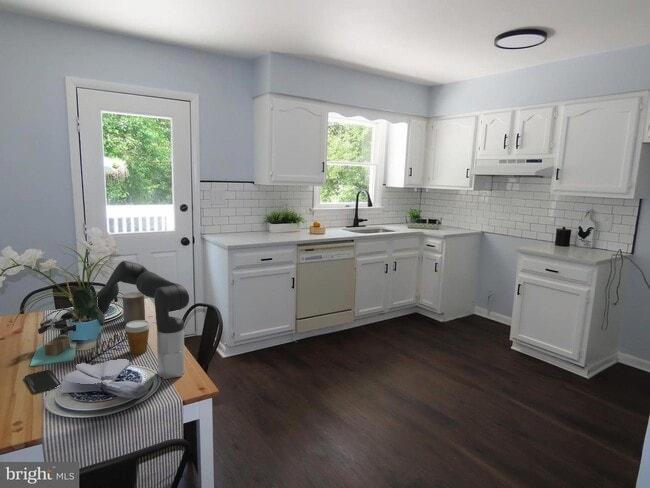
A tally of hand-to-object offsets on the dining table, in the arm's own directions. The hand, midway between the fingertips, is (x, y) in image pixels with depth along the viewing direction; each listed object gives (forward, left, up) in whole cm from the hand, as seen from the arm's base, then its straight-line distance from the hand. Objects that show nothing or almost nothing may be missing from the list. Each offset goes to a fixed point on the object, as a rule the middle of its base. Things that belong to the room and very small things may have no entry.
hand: (50, 332), depth 161 cm
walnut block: (-1, 0, -7) cm, 7 cm away
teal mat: (+2, -1, -10) cm, 10 cm away
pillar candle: (+30, -31, -10) cm, 44 cm away
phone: (-22, 0, -11) cm, 24 cm away
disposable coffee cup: (-7, -31, -10) cm, 33 cm away
